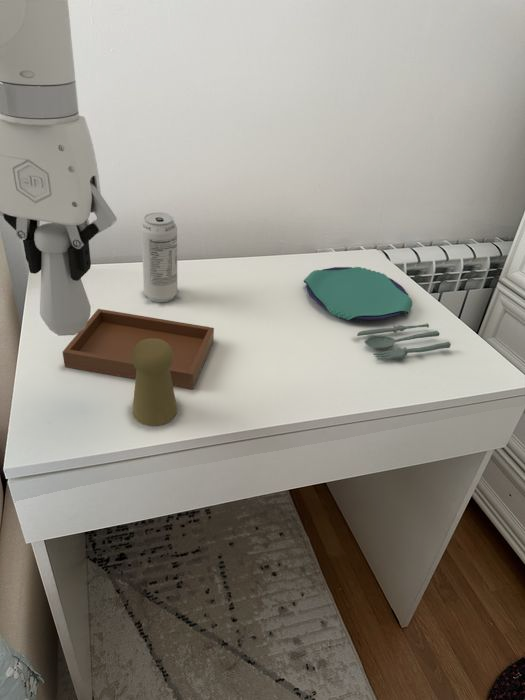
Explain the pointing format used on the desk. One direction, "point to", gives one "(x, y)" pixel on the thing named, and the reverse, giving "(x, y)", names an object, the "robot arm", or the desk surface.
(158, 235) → the energy drink can
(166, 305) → the desk surface
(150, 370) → the pepper shaker
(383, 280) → the cutlery set
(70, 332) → the salt shaker
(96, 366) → the tray
